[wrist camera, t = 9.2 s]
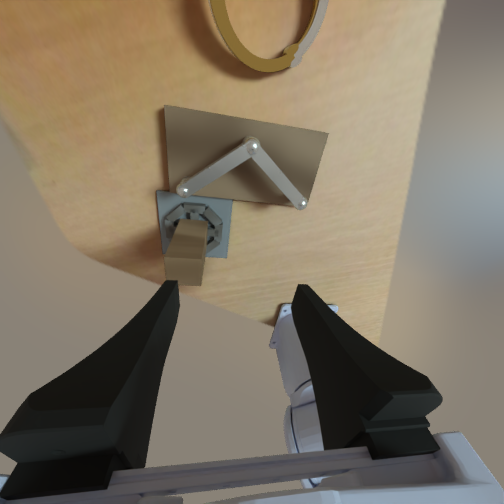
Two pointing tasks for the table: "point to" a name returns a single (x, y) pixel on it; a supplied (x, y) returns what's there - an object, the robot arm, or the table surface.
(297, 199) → the bent wire
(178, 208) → the ring wand
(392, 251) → the table surface
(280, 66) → the ring
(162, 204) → the mat
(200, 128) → the base
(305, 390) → the robot arm
